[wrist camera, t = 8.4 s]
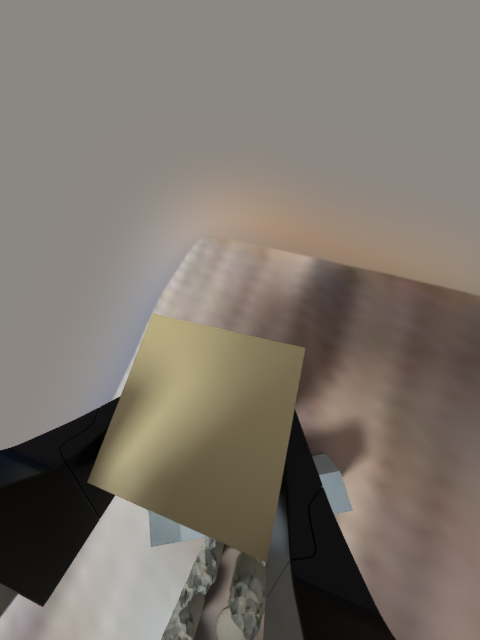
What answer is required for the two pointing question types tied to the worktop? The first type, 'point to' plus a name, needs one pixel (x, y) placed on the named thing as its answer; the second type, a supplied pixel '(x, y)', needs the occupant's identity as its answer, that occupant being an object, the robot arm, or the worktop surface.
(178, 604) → the egg carton
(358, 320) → the worktop surface
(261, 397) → the tea tin
